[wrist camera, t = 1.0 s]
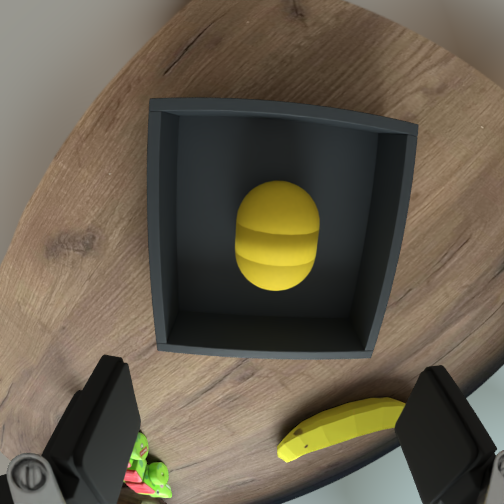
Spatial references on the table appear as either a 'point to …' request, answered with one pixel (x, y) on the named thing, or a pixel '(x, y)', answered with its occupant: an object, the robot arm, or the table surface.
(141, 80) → the table surface
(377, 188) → the crate
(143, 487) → the toy crocodile
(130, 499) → the wooden sphere
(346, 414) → the banana
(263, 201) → the yellow rounded tiered object
